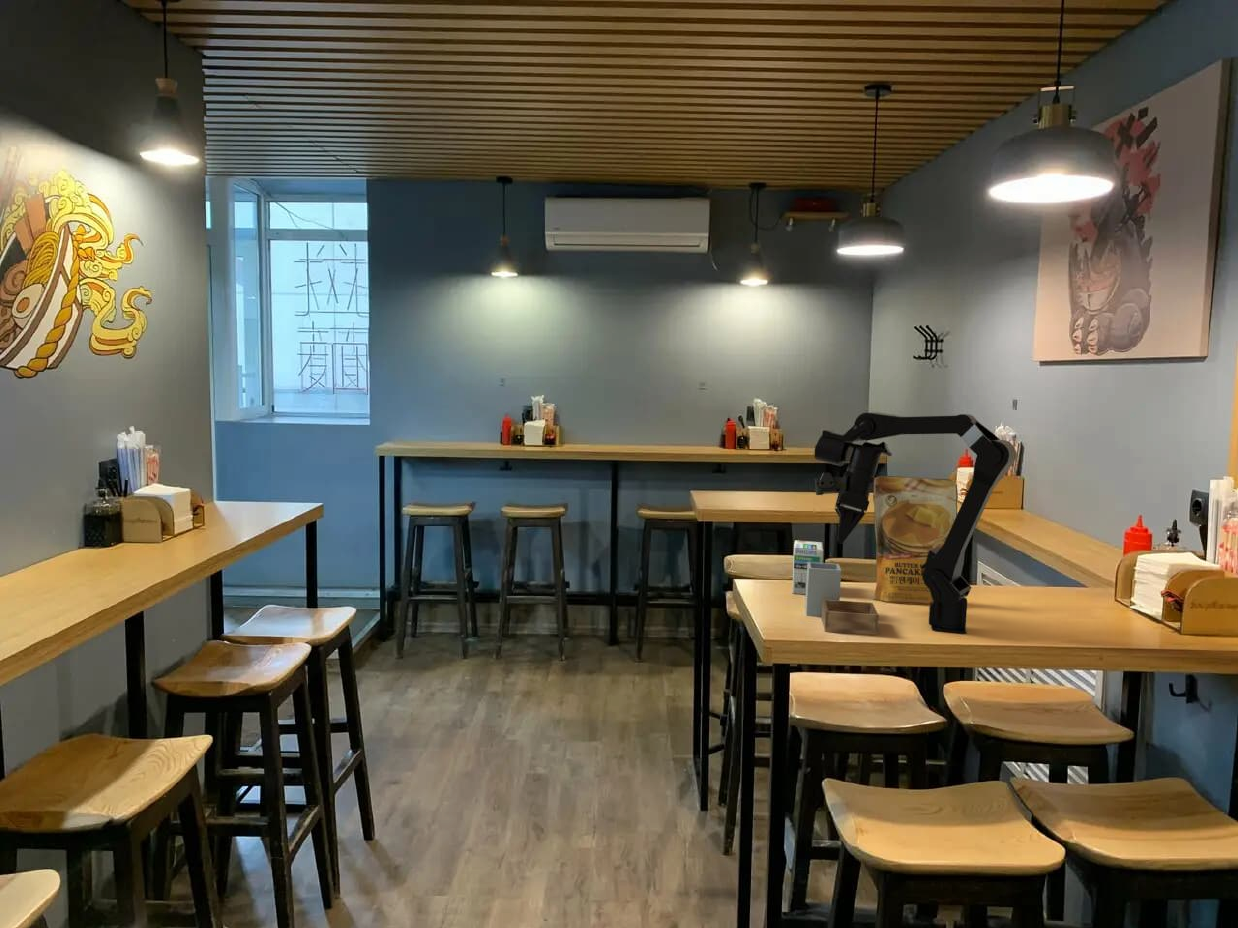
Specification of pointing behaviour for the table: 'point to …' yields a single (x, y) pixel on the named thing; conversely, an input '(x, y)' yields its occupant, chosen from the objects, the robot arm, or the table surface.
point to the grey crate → (821, 586)
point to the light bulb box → (804, 562)
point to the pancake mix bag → (909, 533)
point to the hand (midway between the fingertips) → (839, 542)
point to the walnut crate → (849, 617)
